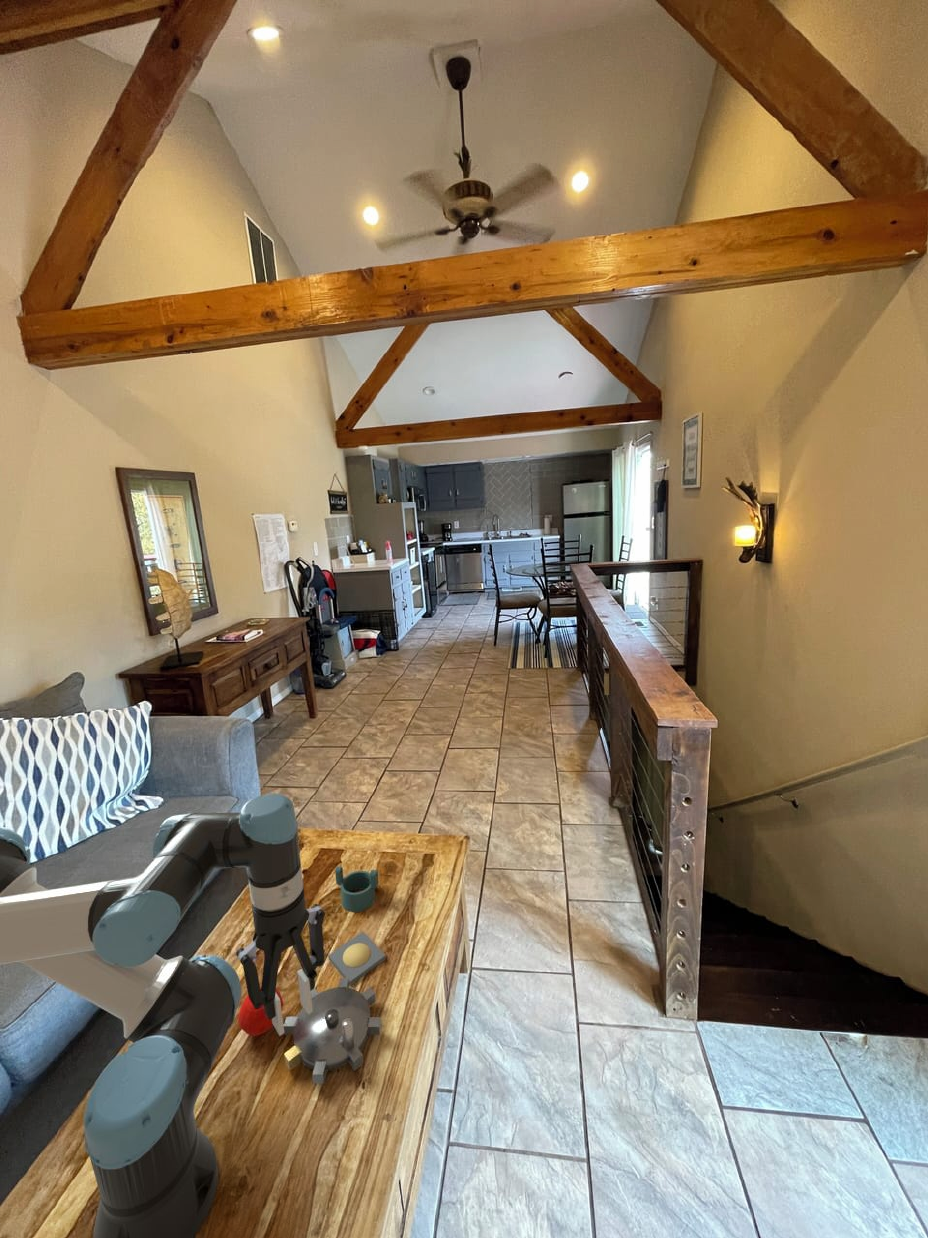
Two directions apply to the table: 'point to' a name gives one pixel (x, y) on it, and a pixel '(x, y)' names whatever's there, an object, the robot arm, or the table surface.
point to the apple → (254, 1017)
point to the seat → (356, 957)
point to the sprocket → (332, 1030)
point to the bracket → (357, 881)
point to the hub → (331, 1018)
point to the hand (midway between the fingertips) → (292, 1017)
